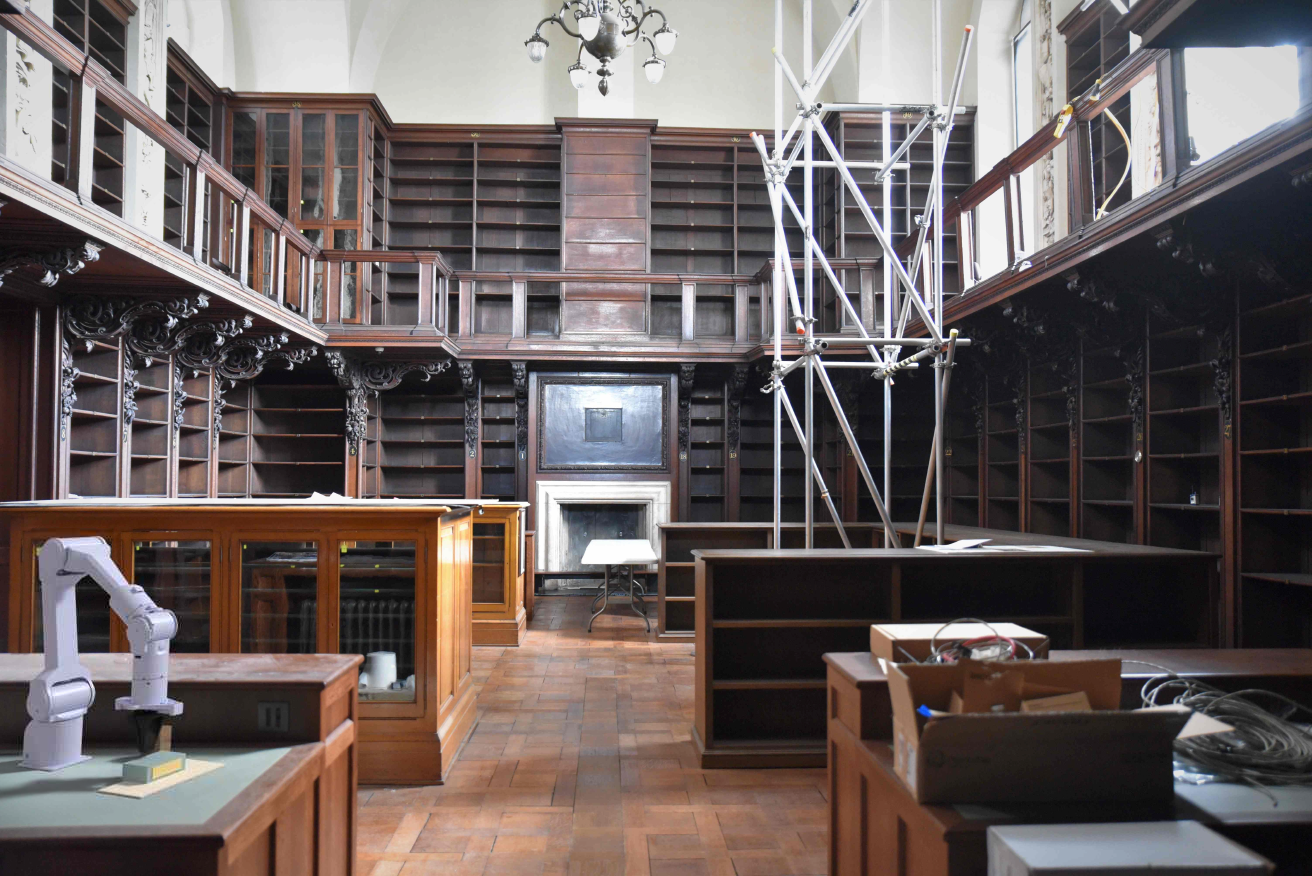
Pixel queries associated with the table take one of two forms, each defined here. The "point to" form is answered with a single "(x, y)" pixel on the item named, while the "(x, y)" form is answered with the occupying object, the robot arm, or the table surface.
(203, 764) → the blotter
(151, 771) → the blue-grey box
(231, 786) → the table surface
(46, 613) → the robot arm
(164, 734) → the walnut bookend
